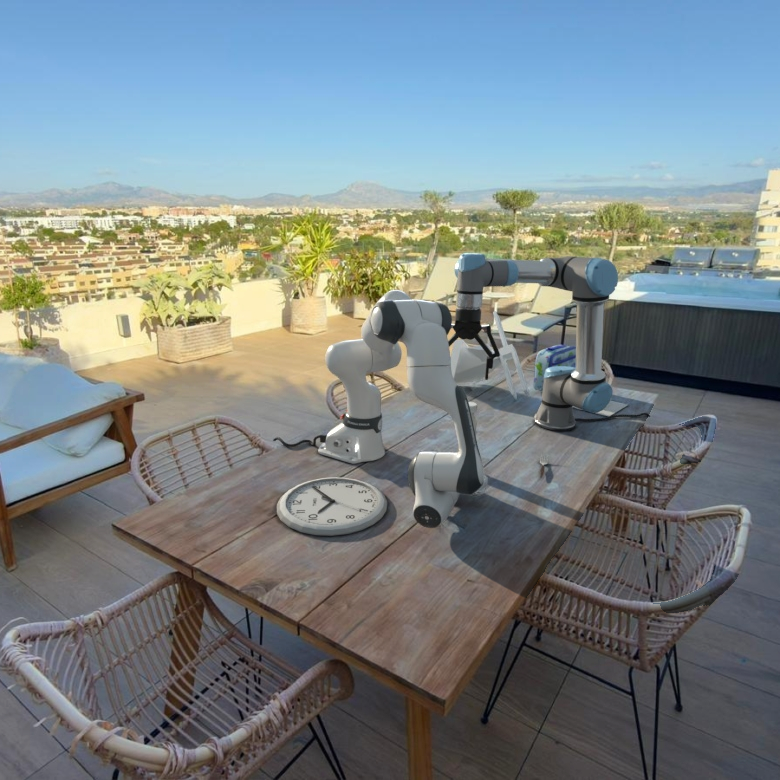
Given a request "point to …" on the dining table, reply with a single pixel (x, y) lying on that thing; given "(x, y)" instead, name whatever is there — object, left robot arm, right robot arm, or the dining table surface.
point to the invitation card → (610, 408)
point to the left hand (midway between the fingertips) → (456, 467)
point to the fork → (543, 464)
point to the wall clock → (331, 506)
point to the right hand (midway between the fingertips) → (463, 377)
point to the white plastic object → (484, 361)
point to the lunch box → (552, 361)
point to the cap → (472, 407)
